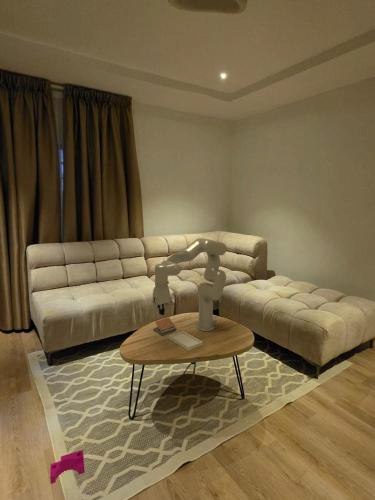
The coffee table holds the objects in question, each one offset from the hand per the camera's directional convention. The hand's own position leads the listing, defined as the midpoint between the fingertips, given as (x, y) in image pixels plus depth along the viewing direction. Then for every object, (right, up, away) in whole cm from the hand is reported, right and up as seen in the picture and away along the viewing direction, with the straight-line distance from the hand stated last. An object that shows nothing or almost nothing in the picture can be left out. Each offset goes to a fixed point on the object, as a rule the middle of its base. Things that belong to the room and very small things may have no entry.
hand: (161, 314), depth 179 cm
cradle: (+14, -18, +6) cm, 24 cm away
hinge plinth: (0, -16, +20) cm, 26 cm away
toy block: (-44, -65, -31) cm, 85 cm away
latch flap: (0, -11, +20) cm, 23 cm away
